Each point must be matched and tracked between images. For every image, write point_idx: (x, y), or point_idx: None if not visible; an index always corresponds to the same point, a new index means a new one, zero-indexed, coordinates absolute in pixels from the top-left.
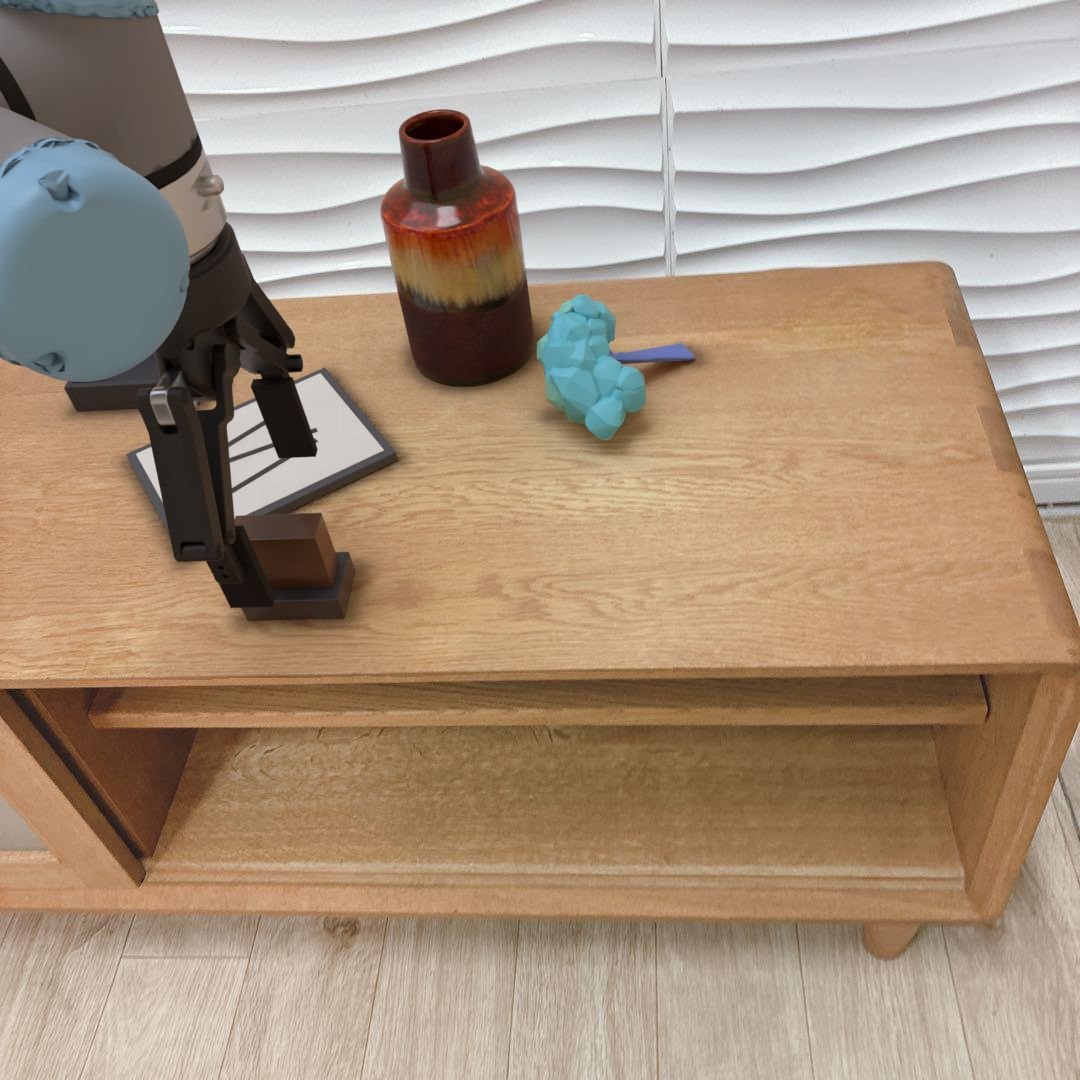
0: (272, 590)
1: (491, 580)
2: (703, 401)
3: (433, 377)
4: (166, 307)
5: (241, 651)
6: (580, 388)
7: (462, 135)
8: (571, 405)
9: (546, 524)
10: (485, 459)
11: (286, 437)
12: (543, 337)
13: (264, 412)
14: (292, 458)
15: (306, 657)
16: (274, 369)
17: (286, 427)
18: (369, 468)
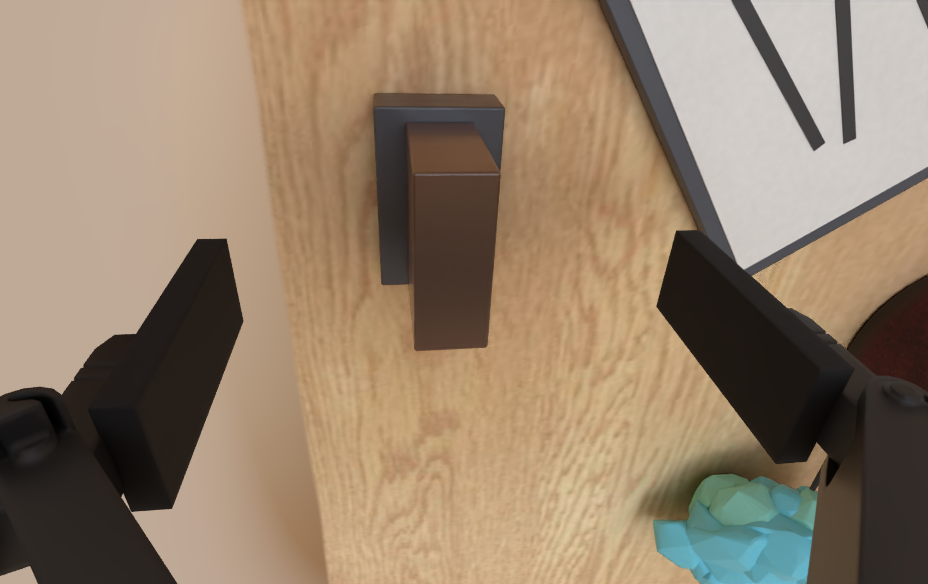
0: (405, 169)
1: (448, 424)
2: None
3: (892, 306)
4: None
5: (299, 99)
6: (717, 557)
7: None
8: (702, 530)
9: (538, 463)
10: (678, 388)
11: (695, 297)
12: None
13: (753, 316)
14: (785, 106)
15: (297, 219)
16: (844, 455)
17: (710, 321)
18: None
